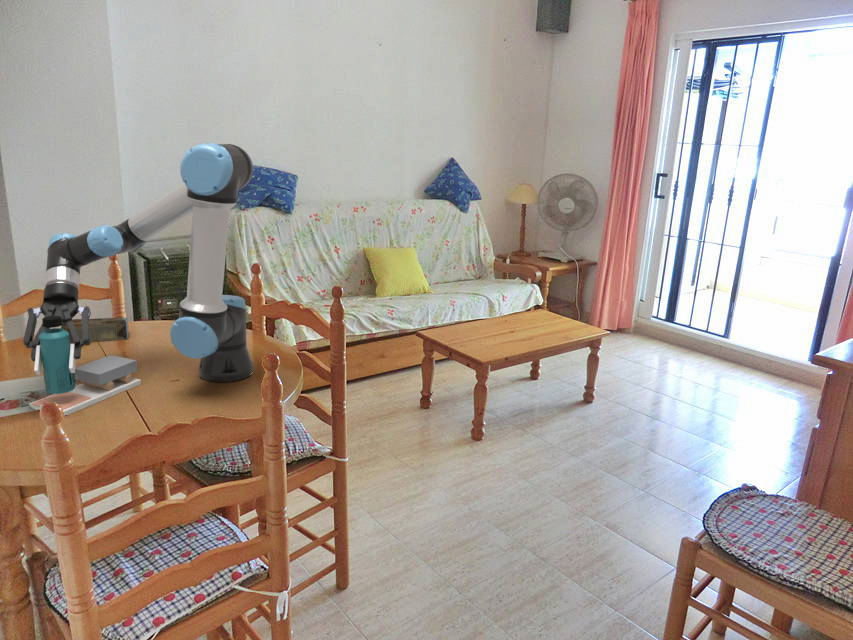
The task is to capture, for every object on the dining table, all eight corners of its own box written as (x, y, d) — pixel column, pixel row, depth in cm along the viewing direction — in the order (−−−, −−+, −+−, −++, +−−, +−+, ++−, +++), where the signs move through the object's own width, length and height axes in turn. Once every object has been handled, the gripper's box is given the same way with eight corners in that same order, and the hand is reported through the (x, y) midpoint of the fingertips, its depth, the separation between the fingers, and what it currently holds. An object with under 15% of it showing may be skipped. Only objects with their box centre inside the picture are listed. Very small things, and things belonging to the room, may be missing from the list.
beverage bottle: (75, 398, 149) (66, 319, 144) (43, 401, 147) (33, 321, 141) (78, 388, 155) (70, 312, 149) (48, 391, 152) (38, 313, 147)
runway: (141, 383, 167) (140, 371, 166) (62, 417, 146) (60, 403, 145) (110, 376, 171) (109, 364, 170) (29, 408, 149) (27, 394, 148)
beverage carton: (128, 340, 202) (126, 321, 200) (61, 345, 194) (59, 325, 192) (129, 333, 209) (127, 315, 207) (64, 337, 201) (62, 318, 199)
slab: (137, 370, 167) (136, 360, 166) (100, 385, 156) (99, 374, 155) (111, 365, 170) (111, 355, 169) (73, 379, 159) (72, 368, 158)
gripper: (106, 295, 162) (103, 375, 152) (21, 297, 156) (11, 381, 145) (101, 280, 156) (97, 362, 145) (12, 281, 149) (2, 367, 139)
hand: (54, 371), depth 145 cm, fingers closed on beverage bottle, 6 cm apart
